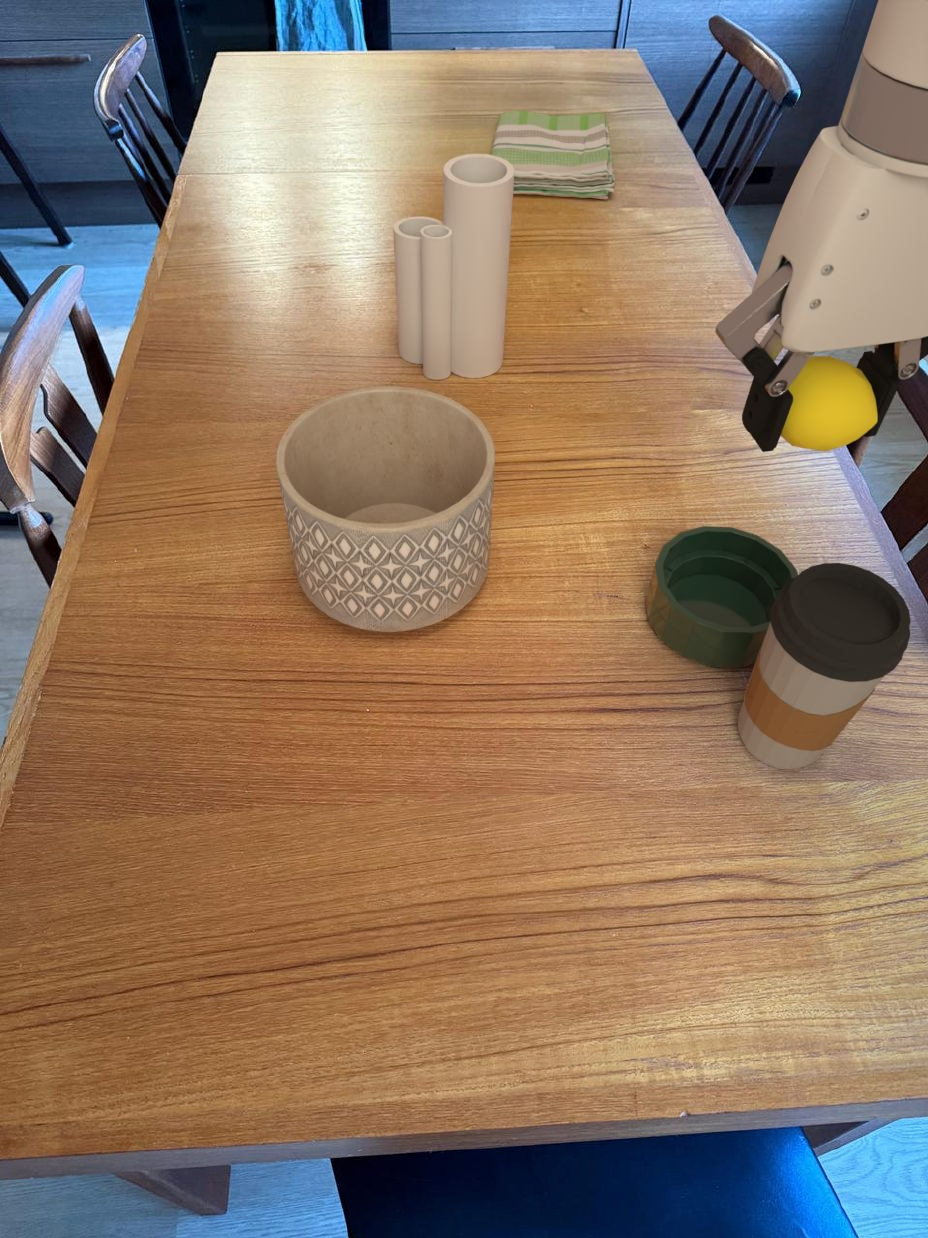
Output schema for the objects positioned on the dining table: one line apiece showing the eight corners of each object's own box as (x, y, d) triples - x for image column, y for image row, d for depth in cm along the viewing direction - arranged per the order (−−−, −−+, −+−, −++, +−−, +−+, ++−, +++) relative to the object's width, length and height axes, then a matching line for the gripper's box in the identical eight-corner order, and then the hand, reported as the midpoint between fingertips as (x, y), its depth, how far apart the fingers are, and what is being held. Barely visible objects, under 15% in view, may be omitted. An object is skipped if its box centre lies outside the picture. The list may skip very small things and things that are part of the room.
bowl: (809, 620, 74) (829, 580, 70) (727, 696, 69) (744, 657, 65) (700, 548, 79) (713, 506, 75) (617, 613, 74) (627, 572, 70)
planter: (519, 537, 79) (530, 422, 70) (433, 671, 70) (432, 559, 60) (359, 479, 84) (348, 364, 74) (258, 598, 74) (230, 483, 65)
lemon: (869, 433, 55) (904, 358, 51) (850, 484, 52) (885, 409, 48) (759, 398, 57) (784, 323, 53) (733, 446, 54) (758, 370, 50)
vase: (502, 342, 99) (513, 153, 83) (503, 381, 94) (515, 190, 78) (400, 339, 98) (392, 150, 83) (395, 378, 94) (386, 186, 78)
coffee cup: (768, 671, 71) (832, 537, 59) (858, 741, 67) (946, 613, 55) (699, 728, 67) (752, 598, 55) (790, 806, 63) (868, 683, 52)
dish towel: (485, 195, 120) (486, 168, 117) (494, 123, 135) (496, 98, 132) (613, 202, 119) (617, 175, 117) (609, 129, 134) (612, 104, 131)
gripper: (1047, 65, 44) (902, 376, 58) (721, 90, 41) (651, 410, 55) (1154, 129, 39) (968, 450, 53) (795, 162, 37) (698, 491, 51)
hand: (808, 427), depth 54 cm, fingers closed on lemon, 5 cm apart
